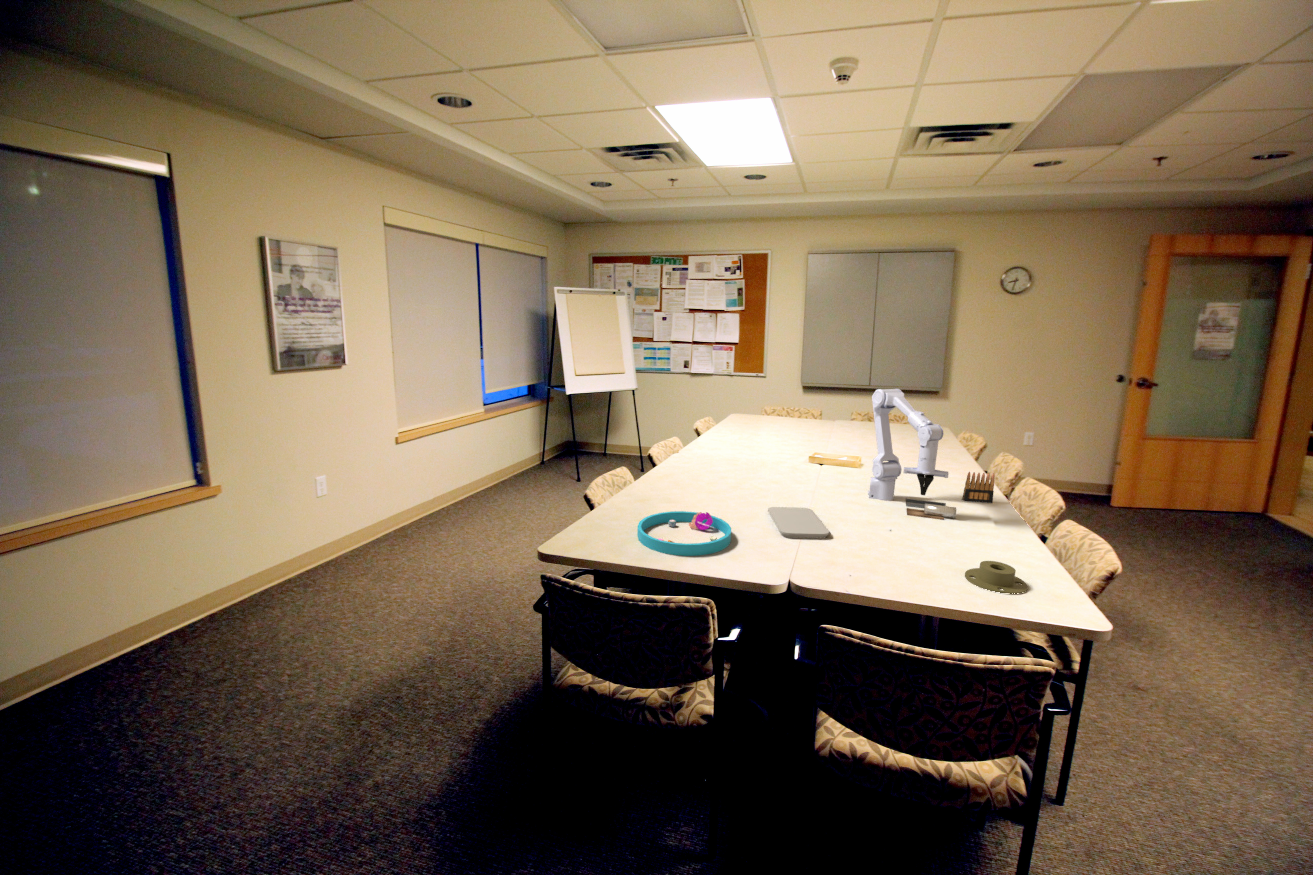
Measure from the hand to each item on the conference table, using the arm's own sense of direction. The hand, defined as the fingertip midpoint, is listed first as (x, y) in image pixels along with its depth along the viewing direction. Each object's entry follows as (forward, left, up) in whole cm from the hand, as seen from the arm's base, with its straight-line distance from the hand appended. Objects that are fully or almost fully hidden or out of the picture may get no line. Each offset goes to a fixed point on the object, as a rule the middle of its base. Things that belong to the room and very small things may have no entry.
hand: (922, 494), depth 208 cm
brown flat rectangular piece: (+1, 0, -8) cm, 9 cm away
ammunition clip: (+22, +30, -9) cm, 38 cm away
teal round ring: (-73, -55, -9) cm, 91 cm away
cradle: (+2, +11, -8) cm, 14 cm away
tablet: (-41, -28, -9) cm, 50 cm away
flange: (+16, -50, -9) cm, 53 cm away
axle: (+6, 0, -7) cm, 10 cm away
